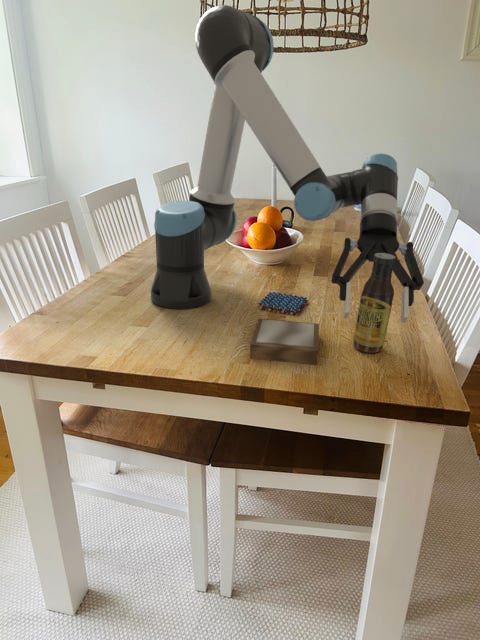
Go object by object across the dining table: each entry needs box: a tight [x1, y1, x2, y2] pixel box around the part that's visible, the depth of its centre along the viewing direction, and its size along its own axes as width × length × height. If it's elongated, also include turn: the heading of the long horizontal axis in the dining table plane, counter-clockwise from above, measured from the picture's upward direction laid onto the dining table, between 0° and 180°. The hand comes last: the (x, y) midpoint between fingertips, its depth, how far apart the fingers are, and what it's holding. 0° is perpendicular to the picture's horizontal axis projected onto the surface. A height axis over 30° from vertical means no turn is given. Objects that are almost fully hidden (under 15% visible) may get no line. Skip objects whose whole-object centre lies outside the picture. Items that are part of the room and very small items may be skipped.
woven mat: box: [257, 291, 310, 316], centre depth 122 cm, size 10×11×2 cm
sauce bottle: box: [353, 253, 396, 354], centre depth 97 cm, size 6×6×20 cm
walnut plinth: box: [249, 318, 320, 366], centre depth 100 cm, size 13×13×3 cm
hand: (375, 317), depth 95 cm, fingers open, 10 cm apart
